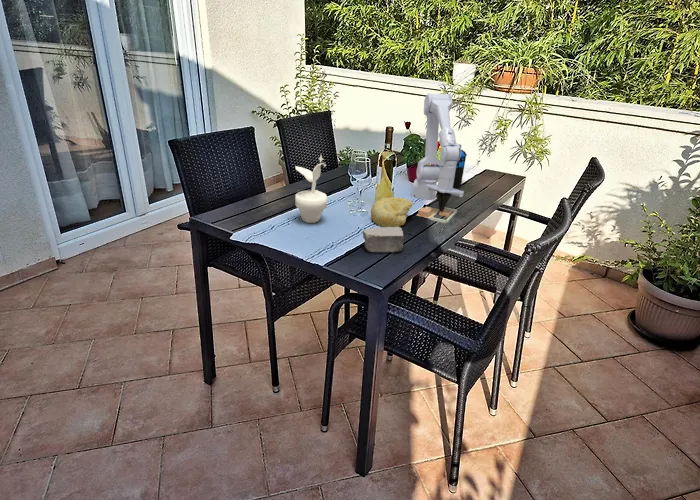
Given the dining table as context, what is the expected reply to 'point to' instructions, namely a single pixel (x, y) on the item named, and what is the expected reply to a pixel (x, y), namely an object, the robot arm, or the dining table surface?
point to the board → (431, 212)
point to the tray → (448, 218)
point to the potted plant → (311, 196)
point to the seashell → (390, 211)
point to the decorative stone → (383, 239)
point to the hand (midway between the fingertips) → (441, 210)
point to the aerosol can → (459, 170)
